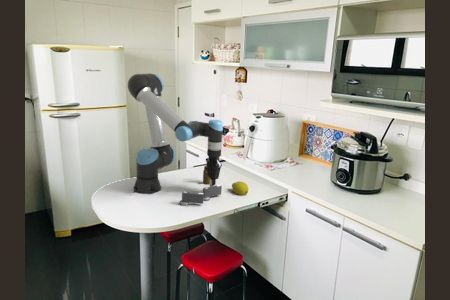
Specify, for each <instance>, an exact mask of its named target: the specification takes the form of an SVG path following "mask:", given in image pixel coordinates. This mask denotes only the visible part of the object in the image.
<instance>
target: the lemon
mask: <svg viewBox="0 0 450 300" xmlns="http://www.w3.org/2000/svg"><path fill="white" fill-rule="evenodd" d="M231 188H232V191H233V193H234V194H236V195H238V196H246V195H248V192H249V186H248V184H246V183H245V182H244V181H240V180H239V181H236V182H235V181H234V182H232V184H231Z"/></svg>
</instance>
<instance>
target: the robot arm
mask: <svg viewBox="0 0 450 300" xmlns="http://www.w3.org/2000/svg"><path fill="white" fill-rule="evenodd" d="M127 90H128V92H129V94H130V95H131V96H132V98H134V100H136V102H138V103H142V104H143V105H144V106H145V112H146V113H145V114H146V119H147V124H148V131H149V134H150V139H151V144H150V146H149V147H148V148H147V147H146V148H143V149H141V150H139V151H138V152H137V153H136V158H135V161H136V164H135V165H136V178H135V182H134V184H133V185H134V186H133V193H137V194H142V195H151V194H155V193H156V194H157V193H158V192H161V190H162V185H161V182H160V179H159V170H162V169H164V168H166V167H168V166H170V165H172V164H173V162H175V159H176V151H175V149H174V148H173V146H171V143H170V142H169V141H168V140H167V136H166V129H165V124H166V126H167V127H169V128H170V129H171V130H172V131H173V132H174V135H175V137H176V139H177V140H178V141H179V142H188V141H190V140H191V139H194V138H197V137H206V138H207V151H206V154H207V155H206V156H207V158H205V161H206V165H207V174H208V176H209V178H210V185H209V187H211V186H216V181H217V180H218V179H219V178H220V173H221V172H220V171H221V168H222V166H223V164H222V163H220V157H222V145H223V131H224V128H223V127H224V126H223V124H224V123H223V121H222V120H219V119H210V120H208V122H204V121H198V120H190V121H189V122H186V121H185V120H184V119H183V118H182V117H181V116H179V115H178V113H176V112H175V111H174V110H173V109H172V108H171V107H170V106H168V105H167V104H166V103H165V102H164V101H163V100H161V98H162V92H163V90H164V82H163V79H162V78H161V77H160V76H159V75H157V74H155V73H136V74H133V75H131V76H130V78H128V82H127Z"/></svg>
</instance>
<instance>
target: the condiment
mask: <svg viewBox="0 0 450 300" xmlns="http://www.w3.org/2000/svg"><path fill="white" fill-rule="evenodd" d="M203 168H204V169H203V171H202V172H203V173H202V174H203V175H202V182H198V183H197V185H202V184H204V185H206V186H207V185H209V186H210V178H209V176H208V174H207V164H206V165H204V167H203Z"/></svg>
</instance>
